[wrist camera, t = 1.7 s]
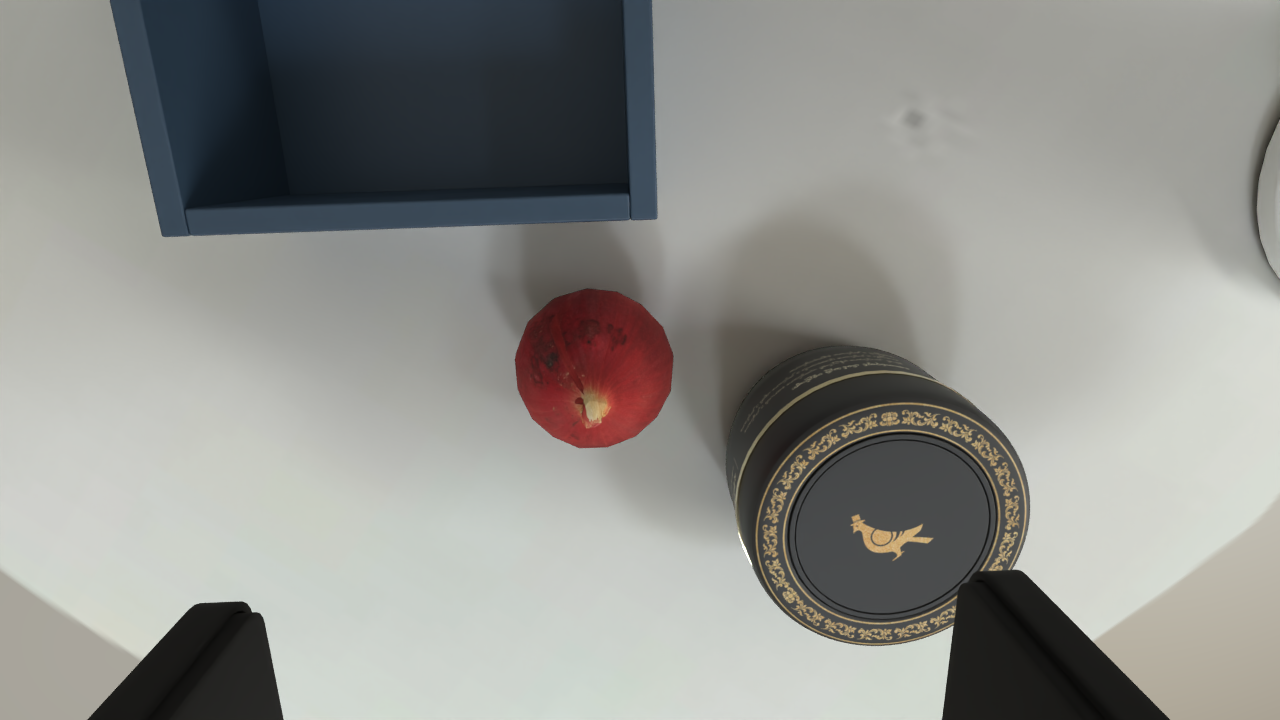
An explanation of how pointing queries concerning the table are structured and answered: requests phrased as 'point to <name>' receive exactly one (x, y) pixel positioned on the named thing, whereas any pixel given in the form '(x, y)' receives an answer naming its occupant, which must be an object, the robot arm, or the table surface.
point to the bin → (391, 112)
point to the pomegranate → (594, 368)
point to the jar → (871, 494)
